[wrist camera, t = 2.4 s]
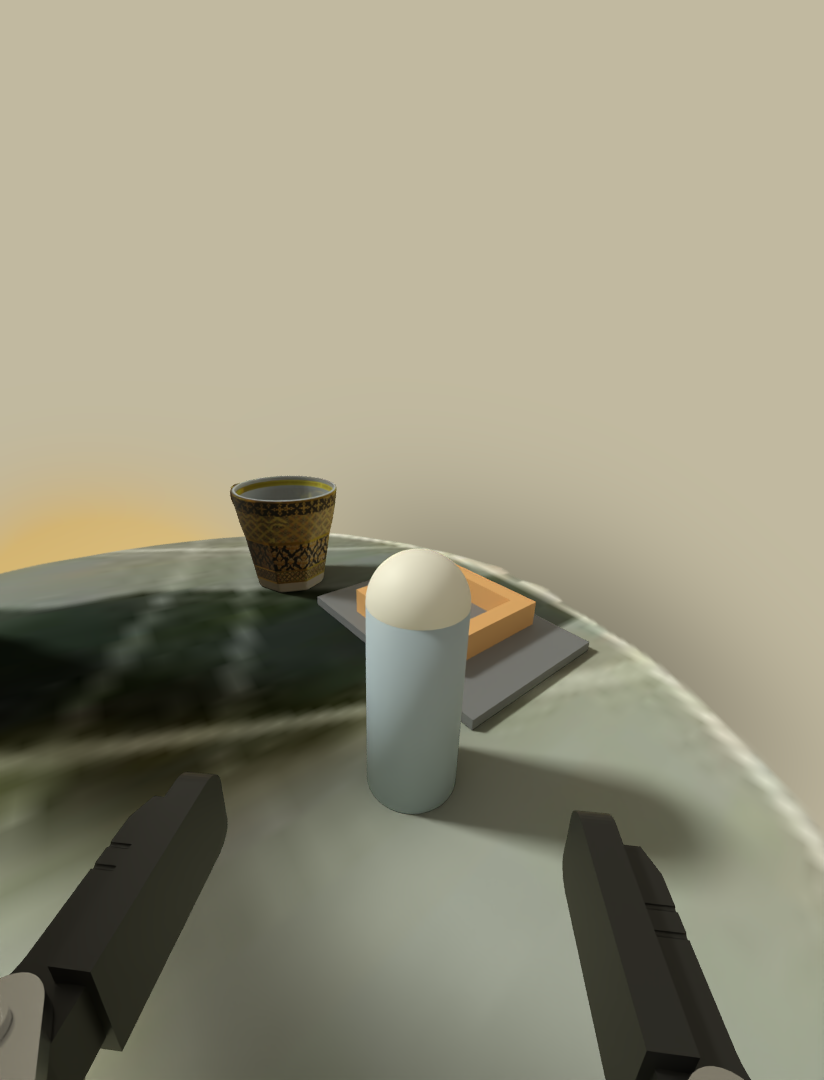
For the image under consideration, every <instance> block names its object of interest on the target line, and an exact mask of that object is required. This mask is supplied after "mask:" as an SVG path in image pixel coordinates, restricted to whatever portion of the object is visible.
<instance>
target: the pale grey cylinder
mask: <svg viewBox="0 0 824 1080" xmlns="http://www.w3.org/2000/svg"><path fill="white" fill-rule="evenodd" d="M365 606H366V714H367V780H368V785H369V788H370V790H371V792H372V793H373V795H374V796H375V798H376V799H377V800H378V801H379V802H380V803H382V804H383V805H384V806H386V807H387V808H389V809H391V810H394V811H397V812H400V813H405V814H420V813H425V812H428V811H431V810H433V809H435V808H437V807H439V806H440V805H441V804H443V803H444V802H445V801H446V800H447V799H448V797H449V796H450V794H451V793H452V791H453V788H454V785H455V780H456V769H457V758H458V747H459V736H460V724H461V713H462V702H463V691H464V680H465V669H466V658H467V647H468V636H469V625H470V614H471V593H470V588H469V585H468V582H467V580H466V578H465V576H464V574H463V573H462V571H461V570H460V569H459V567H458V566H457V565H456V564H455V563H454V562H453V561H451V560H450V559H449V558H447V557H446V556H444V555H442V554H440V553H438V552H435V551H432V550H428V549H409V550H405V551H401V552H399V553H397V554H394V555H392V556H391V557H389V558H388V559H386V560H385V561H384V562H383V563H382V564H381V565H380V566H379V567H378V568H377V569H376V571H375V572H374V574H373V576H372V577H371V579H370V582H369V584H368V587H367V592H366V600H365Z"/></svg>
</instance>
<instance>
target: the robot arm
mask: <svg viewBox="0 0 824 1080" xmlns="http://www.w3.org/2000/svg"><path fill="white" fill-rule="evenodd" d="M226 832H227V815H226V809H225V803H224V798H223V792H222V786H221V781H220V778H219V776H218V775H215V774H205V773H194V772H184V773H182V774H181V775H180V776H179V777H178V778H177V779H176V781H175V782H174V784H173V785H172V786H171V788H170V789H169V791H168V792H167V794H166V795H165V797H160V796H153V797H152V798H151V799H150V800H149V801H147V802H146V803H145V804H144V805H143V806H141V807H140V808H139V809H138V810H137V811H135V812H134V813H133V814H132V815H131V816H130V817H129V818H128V819H127V821H126V822H125V823H124V825H123V826H122V827H121V829H120V830H119V831H118V833H117V834H116V835H115V837H114V838H113V840H112V841H111V844H110V846H109V847H107V848H106V849H105V850H104V852H103V853H102V854H101V856H100V857H99V858H98V860H97V861H96V863H95V866H94V868H93V869H90V871H89V872H88V873H87V875H86V876H85V877H84V879H83V880H82V881H81V883H80V884H79V886H78V887H77V888H76V890H75V891H74V892H73V894H72V895H71V896H70V898H69V899H68V900H67V902H66V903H65V904H64V906H63V907H62V909H61V910H60V911H59V913H58V914H57V915H56V917H55V918H54V919H53V921H52V922H51V923H50V925H49V926H48V927H47V929H46V930H45V932H44V933H43V934H42V936H41V937H40V938H39V940H38V941H37V942H36V944H35V945H34V946H33V948H32V949H31V950H30V952H29V953H28V954H27V956H26V957H25V958H24V959H23V961H22V962H21V963H20V964H19V965H18V966H17V967H16V968H15V970H14V971H13V972H12V973H11V974H10V975H7V976H5V977H2V978H0V1080H85V1076H86V1074H87V1072H88V1071H89V1069H90V1067H91V1065H92V1063H93V1061H94V1059H95V1057H96V1055H97V1053H98V1052H99V1050H100V1048H102V1049H108V1050H115V1051H123V1049H124V1046H125V1044H126V1042H127V1040H128V1038H129V1036H130V1034H131V1032H132V1030H133V1028H134V1026H135V1024H136V1022H137V1020H138V1018H139V1016H140V1014H141V1012H142V1010H143V1008H144V1006H145V1004H146V1002H147V1000H148V998H149V996H150V994H151V992H152V990H153V988H154V986H155V984H156V982H157V980H158V977H159V975H160V973H161V971H162V969H163V967H164V965H165V963H166V961H167V959H168V957H169V955H170V953H171V951H172V949H173V947H174V945H175V943H176V941H177V939H178V937H179V935H180V933H181V931H182V929H183V927H184V925H185V923H186V921H187V919H188V917H189V915H190V913H191V910H192V908H193V906H194V904H195V902H196V900H197V898H198V896H199V894H200V892H201V890H202V888H203V886H204V884H205V882H206V880H207V878H208V876H209V874H210V872H211V870H212V868H213V866H214V864H215V862H216V860H217V858H218V856H219V854H220V851H221V849H222V847H223V844H224V840H225V837H226ZM563 881H564V888H565V894H566V898H567V903H568V908H569V912H570V917H571V921H572V926H573V931H574V935H575V940H576V945H577V949H578V954H579V959H580V963H581V968H582V972H583V977H584V982H585V986H586V991H587V996H588V1000H589V1005H590V1010H591V1014H592V1019H593V1024H594V1028H595V1033H596V1037H597V1042H598V1047H599V1051H600V1056H601V1061H602V1065H603V1070H604V1075H605V1079H606V1080H751V1079H750V1078H749V1076H748V1074H747V1072H746V1071H745V1069H744V1067H743V1065H742V1064H741V1062H740V1059H739V1057H738V1055H737V1053H736V1051H735V1048H734V1046H733V1044H732V1041H731V1039H730V1037H729V1034H728V1032H727V1029H726V1027H725V1025H724V1022H723V1020H722V1017H721V1015H720V1013H719V1010H718V1008H717V1005H716V1003H715V1001H714V998H713V996H712V993H711V991H710V989H709V986H708V984H707V981H706V979H705V977H704V974H703V972H702V969H701V967H700V965H699V962H698V960H697V958H696V955H695V953H694V950H693V948H692V946H691V943H690V941H689V940H688V939H687V937H686V931H685V929H684V926H683V924H682V922H681V919H680V917H679V914H678V913H677V912H676V911H675V905H674V902H673V900H672V898H671V895H670V893H669V890H668V888H667V886H666V883H665V881H664V878H663V876H662V874H661V873H660V871H659V870H658V869H657V868H656V866H655V865H654V864H653V862H652V861H651V860H650V859H649V857H648V856H647V855H646V853H645V852H644V851H643V850H642V848H641V847H638V846H628V845H623V842H622V839H621V837H620V834H619V831H618V828H617V826H616V823H615V821H614V819H613V817H612V816H611V815H610V814H606V813H596V812H585V811H573V813H572V816H571V820H570V825H569V830H568V835H567V840H566V845H565V850H564V854H563Z"/></svg>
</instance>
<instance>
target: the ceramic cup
mask: <svg viewBox="0 0 824 1080" xmlns="http://www.w3.org/2000/svg"><path fill="white" fill-rule="evenodd" d="M230 496H231V500H232V502H233V504H234V506H235V509H236V512H237V516H238V519H239V522H240V525H241V527H242V530H243V532H244V535H245V537H246V540H247V543H248V547H249V550H250V553H251V557H252V560H253V563H254V566H255V570H256V573H257V576H258V579H259V582H260V584H261V585H262V586H263V587H266V588H269V589H272V590H275V591H278V592H290V591H300V590H307V589H309V588H311V587H313V586H314V585H316V584H318V583H319V582H321V581H322V579H323V577H324V570H325V562H326V555H327V548H328V540H329V532H330V528H331V523H332V519H333V513H334V507H335V498H336V485H335V484H333V483H332V482H330V481H328V480H325V479H320V478H315V477H307V476H276V477H265V478H259V479H253V480H249V481H245V482H242V483H239V484H235V485H233V486H232V487H231V491H230Z"/></svg>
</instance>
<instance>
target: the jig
mask: <svg viewBox="0 0 824 1080" xmlns="http://www.w3.org/2000/svg"><path fill="white" fill-rule="evenodd" d="M456 565H457V564H456ZM457 566H458V567H459V569H460V570H461V571H462V573H463V574H464V576H465V578H466V580H467V582H468V585H469V588H470V593H471V614H470V625H469V636H468V647H467V658H466V669H465V680H464V691H463V702H462V713H461V722H462V723H464V724H465V725H466V726H467V727H469V728H470V729H471V730H473V729H474V728H476V727H477V726H479V725H480V724H482V723H483V722H484V721H486V720H487V719H489V718H490V717H492V716H493V715H495V714H496V713H497V712H499V711H500V710H502V709H503V708H505V707H506V706H508V705H509V704H510V703H512V702H513V701H515V700H516V699H518V698H519V697H520V696H522V695H523V694H525V693H526V692H528V691H529V690H531V689H532V688H533V687H535V686H536V685H538V684H539V683H541V682H542V681H544V680H545V679H546V678H548V677H549V676H551V675H552V674H554V673H555V672H557V671H558V670H559V669H561V668H562V667H564V666H565V665H567V664H568V663H570V662H571V661H572V660H574V659H575V658H577V657H578V656H580V655H581V654H583V653H584V652H585V651H587V650H588V645H589V642H588V641H586V640H584V639H582V638H580V637H578V636H576V635H574V634H572V633H570V632H568V631H566V630H564V629H562V628H560V627H558V626H556V625H554V624H552V623H550V622H548V621H546V620H544V619H542V618H540V617H538V616H536V615H534V611H535V604H536V602H535V601H533V600H531V599H528V598H526V597H524V596H522V595H520V594H518V593H516V592H514V591H512V590H509V589H507V588H505V587H503V586H501V585H499V584H497V583H495V582H493V581H490V580H488V579H486V578H484V577H482V576H480V575H478V574H476V573H473V572H471V571H469V570H467V569H465V568H463V567H461V566H459V565H457ZM369 582H370V580H367V581H364V582H361V583H358V584H355V585H352V586H349V587H346V588H343V589H339V590H336V591H333V592H330V593H327V594H324V595H321V596H318V597H317V600H318V605H320V606H321V607H322V608H323V609H324V610H326V611H327V612H328V613H329V614H331V615H332V616H333V617H334V618H335V619H337V620H338V621H339V622H340V623H342V624H343V625H344V626H345V627H346V628H348V629H349V630H350V631H351V632H353V633H354V634H355V635H356V636H357V637H359V638H360V639H361V640H362V641H364V642H365V643H366V606H365V600H366V592H367V587H368V584H369Z"/></svg>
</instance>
